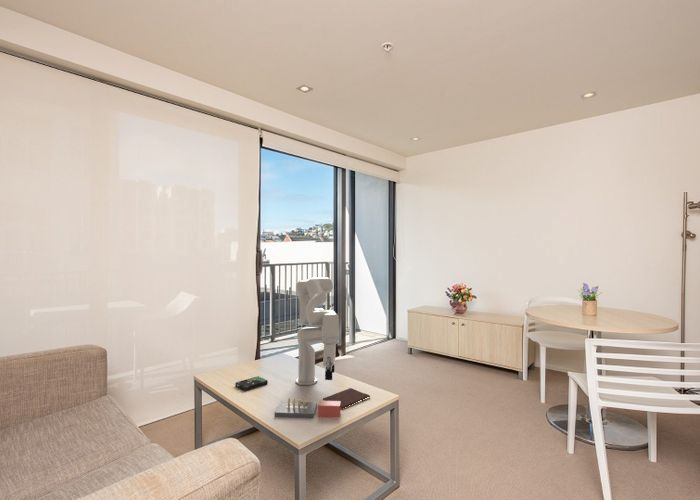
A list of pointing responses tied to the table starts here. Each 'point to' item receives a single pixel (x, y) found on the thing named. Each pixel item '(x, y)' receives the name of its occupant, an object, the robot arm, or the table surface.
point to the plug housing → (329, 408)
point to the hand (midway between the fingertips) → (329, 376)
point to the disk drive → (251, 383)
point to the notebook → (347, 397)
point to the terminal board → (296, 409)
